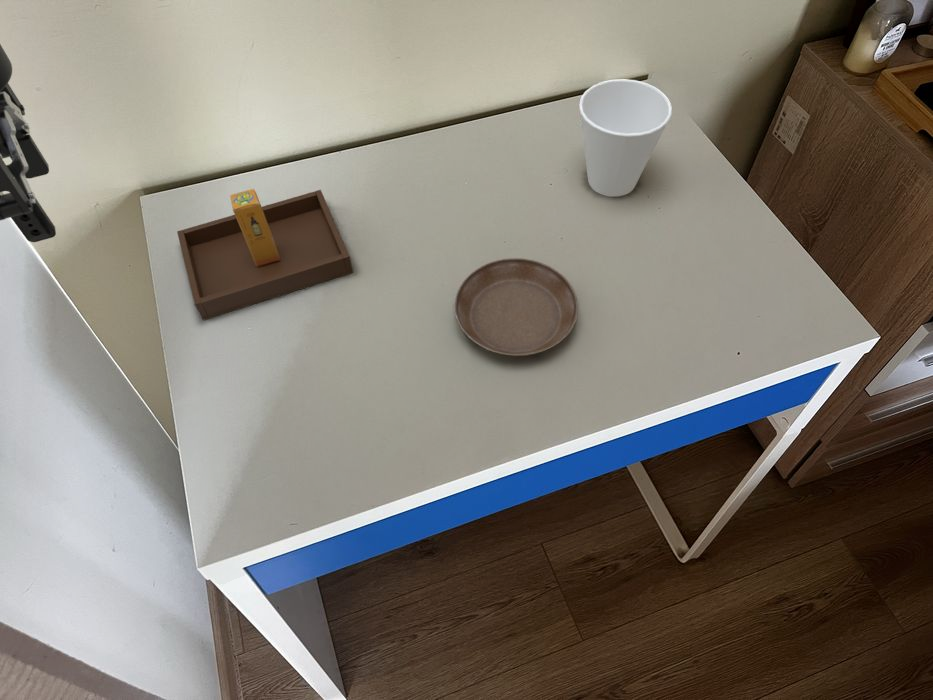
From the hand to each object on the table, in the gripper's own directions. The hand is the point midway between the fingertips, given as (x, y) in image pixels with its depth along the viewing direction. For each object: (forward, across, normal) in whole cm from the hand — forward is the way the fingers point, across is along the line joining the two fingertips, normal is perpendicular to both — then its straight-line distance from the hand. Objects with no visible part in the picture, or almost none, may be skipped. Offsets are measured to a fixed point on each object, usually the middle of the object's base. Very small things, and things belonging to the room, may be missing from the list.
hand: (40, 204), depth 60 cm
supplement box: (+27, -14, +16) cm, 34 cm away
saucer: (+27, +8, +42) cm, 51 cm away
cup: (+26, -8, +65) cm, 71 cm away
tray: (+27, -14, +16) cm, 34 cm away
